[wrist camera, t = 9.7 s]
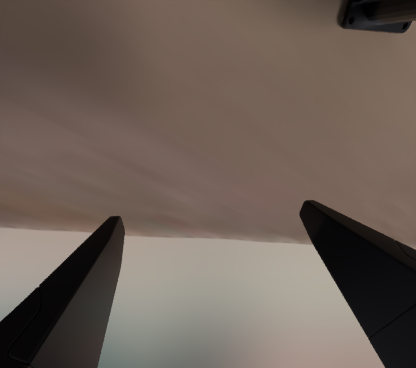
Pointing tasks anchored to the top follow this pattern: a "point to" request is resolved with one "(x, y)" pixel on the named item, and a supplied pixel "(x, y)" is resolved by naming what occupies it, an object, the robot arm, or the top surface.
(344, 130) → the top surface
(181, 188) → the top surface
